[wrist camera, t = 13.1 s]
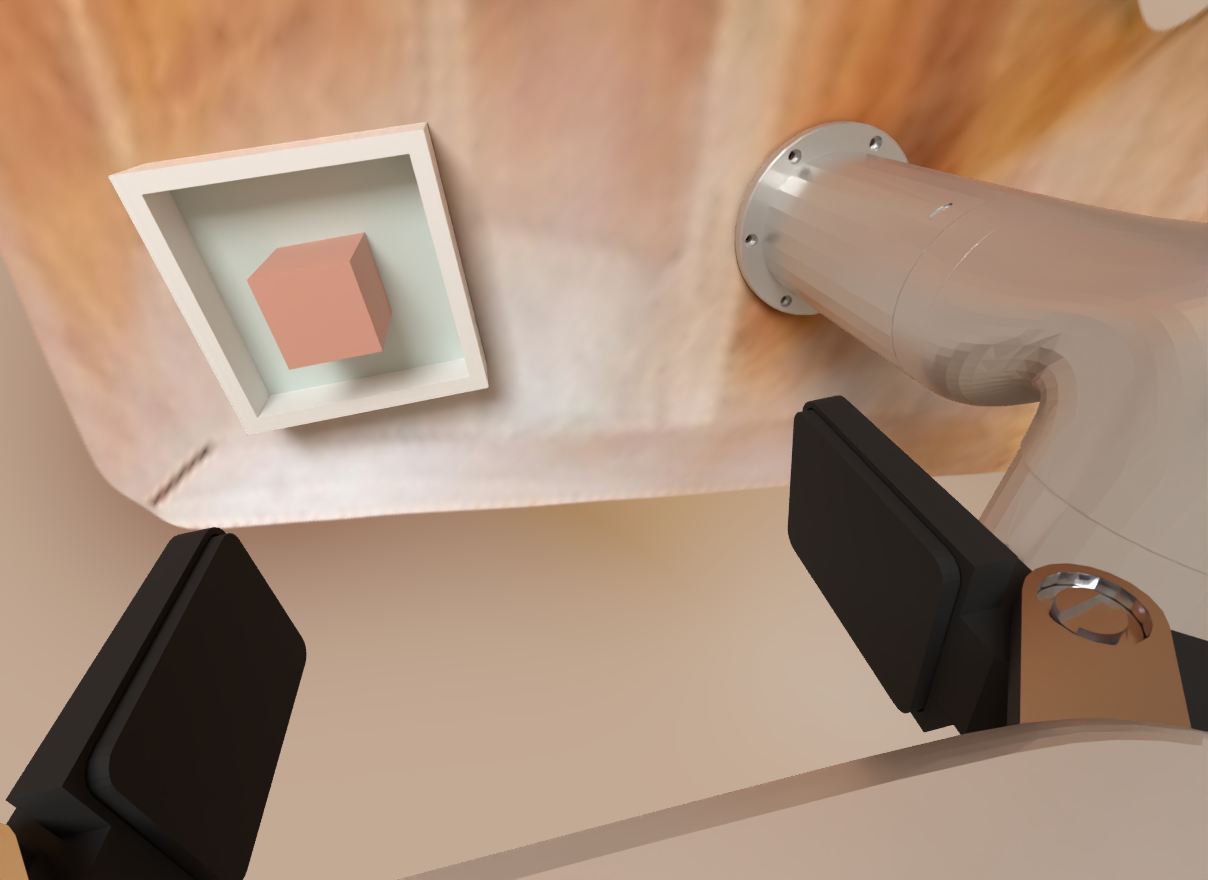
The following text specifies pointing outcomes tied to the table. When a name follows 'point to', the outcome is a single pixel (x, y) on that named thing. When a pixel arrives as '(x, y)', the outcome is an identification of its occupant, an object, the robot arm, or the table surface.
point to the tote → (299, 215)
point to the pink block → (323, 300)
